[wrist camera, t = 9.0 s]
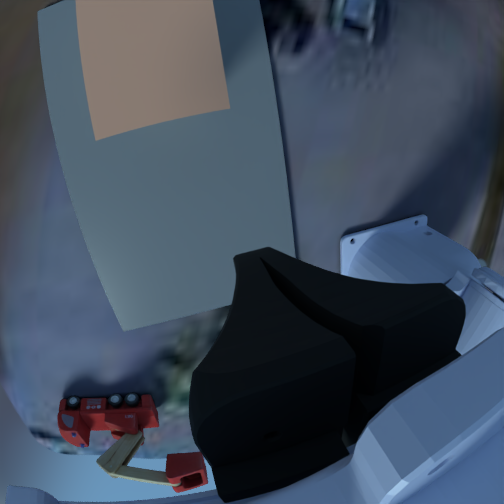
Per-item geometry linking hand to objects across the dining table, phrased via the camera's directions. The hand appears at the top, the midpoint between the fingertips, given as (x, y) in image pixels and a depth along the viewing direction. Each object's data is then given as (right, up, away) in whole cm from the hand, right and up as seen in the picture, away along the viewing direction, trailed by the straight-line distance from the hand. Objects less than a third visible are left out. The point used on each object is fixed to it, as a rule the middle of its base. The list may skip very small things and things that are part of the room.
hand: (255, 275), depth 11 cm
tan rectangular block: (-5, +10, 0) cm, 11 cm away
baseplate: (-5, +7, +7) cm, 11 cm away
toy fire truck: (-13, -14, +15) cm, 24 cm away
